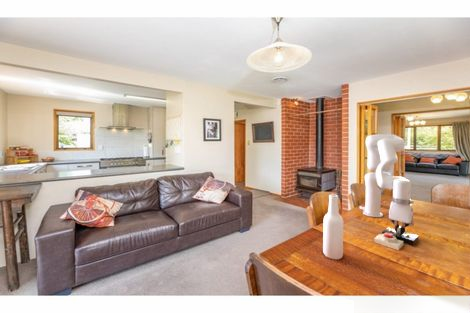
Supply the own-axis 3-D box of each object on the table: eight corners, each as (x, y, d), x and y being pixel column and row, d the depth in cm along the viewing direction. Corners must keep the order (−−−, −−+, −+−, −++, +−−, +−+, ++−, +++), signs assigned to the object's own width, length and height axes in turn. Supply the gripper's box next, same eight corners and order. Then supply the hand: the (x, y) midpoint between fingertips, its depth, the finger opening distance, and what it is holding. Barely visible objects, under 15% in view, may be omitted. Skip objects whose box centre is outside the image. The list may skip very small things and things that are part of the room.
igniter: (373, 242, 112) (373, 234, 112) (379, 237, 117) (379, 230, 116) (398, 250, 103) (398, 242, 103) (403, 245, 108) (403, 237, 108)
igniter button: (383, 236, 110) (383, 233, 110) (385, 234, 112) (385, 231, 112) (391, 239, 107) (391, 236, 107) (393, 237, 109) (393, 234, 109)
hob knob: (399, 231, 117) (399, 225, 117) (402, 232, 116) (402, 226, 116) (397, 234, 114) (397, 227, 114) (400, 234, 113) (400, 228, 113)
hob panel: (381, 236, 118) (382, 231, 118) (387, 231, 124) (388, 226, 124) (413, 246, 107) (413, 240, 106) (418, 240, 113) (418, 234, 112)
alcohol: (342, 262, 94) (343, 198, 92) (321, 256, 99) (322, 196, 97) (343, 253, 102) (344, 194, 100) (324, 248, 106) (325, 192, 104)
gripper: (421, 203, 110) (419, 236, 111) (386, 197, 122) (385, 226, 123) (417, 205, 105) (416, 240, 106) (382, 199, 118) (381, 230, 119)
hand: (399, 232), depth 115 cm, fingers closed
